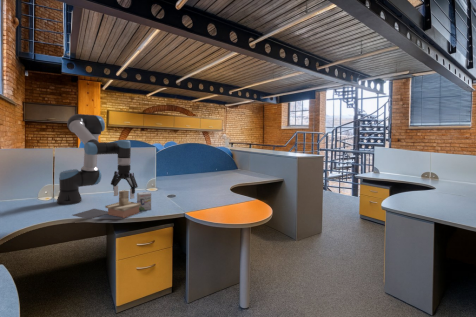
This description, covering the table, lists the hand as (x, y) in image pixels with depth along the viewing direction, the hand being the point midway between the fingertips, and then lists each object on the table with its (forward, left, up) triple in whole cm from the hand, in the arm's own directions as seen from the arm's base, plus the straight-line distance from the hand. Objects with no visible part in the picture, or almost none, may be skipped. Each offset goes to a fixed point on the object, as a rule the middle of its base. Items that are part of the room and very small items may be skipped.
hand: (123, 197), depth 164 cm
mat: (-16, -10, -11) cm, 22 cm away
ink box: (+4, +14, -12) cm, 19 cm away
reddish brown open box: (0, 0, -11) cm, 11 cm away
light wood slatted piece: (0, 0, -6) cm, 6 cm away
